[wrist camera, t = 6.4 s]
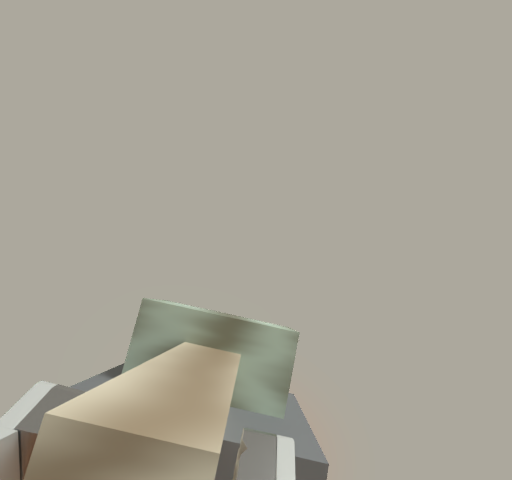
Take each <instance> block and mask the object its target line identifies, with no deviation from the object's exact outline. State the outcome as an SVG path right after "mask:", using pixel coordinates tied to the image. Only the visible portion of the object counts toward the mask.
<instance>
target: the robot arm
mask: <svg viewBox="0 0 512 480" xmlns="http://www.w3.org/2000/svg"><path fill="white" fill-rule="evenodd" d="M83 393H85V391H82V390H78V389H74V388H70V387H66V386H62V385H59V384H54V383H50V382H45V381H40V382H38V383H36V384H35V385H34V386H33V387H32V388H31V389H30V390H29V391H28V392H27V393H26V394H25V395H24V396H23V397H22V398H21V399H19V400H18V402H16V404H14V405H13V406H12V407H11V408H10V409H9V410H8V411H7V412H6V413H5V414H4V415H3V416H2V417H1V418H0V480H23V479H24V476H25V473H26V470H27V467H28V464H29V461H30V457H31V454H32V451H33V448H34V445H35V442H36V439H37V436H38V432H39V429H40V426H41V423H42V420H43V417H44V414H45V413H46V412H48V411H50V410H52V409H54V408H56V407H58V406H60V405H62V404H64V403H65V402H67V401H69V400H71V399H73V398H75V397H77V396H79V395H81V394H83ZM232 480H295V444H294V440H293V438H289V437H285V436H280V435H276V434H272V433H267V432H263V431H258V430H254V429H249V428H244V429H243V432H242V436H241V442H240V448H239V449H238V453H237V458H236V463H235V467H234V473H233V479H232Z"/></svg>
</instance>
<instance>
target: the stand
mask: <svg viewBox="0 0 512 480" xmlns="http://www.w3.org/2000/svg"><path fill="white" fill-rule="evenodd" d="M123 367H124V364H122V365H119V366H117V367H115V368H112V369H110V370H108V371H105V372H103V373H101V374H98V375H96V376H94V377H91V378H89V379H87V380H85V381H82V382H80V383H77V384H75V385H73V386H71V387H70V388H74V389H78V390H82V391H85V392H87V391H89V390H91V389H93V388H95V387H97V386H99V385H101V384H103V383H105V382H107V381H109V380H111V379H113V378H115V377H117V376H119V375H121V374H122V370H123ZM244 428H249V429H254V430H258V431H263V432H267V433H272V434H276V435H280V436H285V437H289V438H293V440H294V444H295V480H326V479H327V473H328V466H329V464H328V462H327V460H326V458H325V456H324V454H323V452H322V450H321V448H320V446H319V444H318V442H317V440H316V438H315V436H314V434H313V432H312V430H311V428H310V426H309V424H308V422H307V420H306V418H305V416H304V414H303V412H302V410H301V408H300V406H299V404H298V402H297V400H296V398H295V396H294V394H290V393H288V399H287V404H286V410H285V415H284V419H282V418H277V417H273V416H269V415H264V414H260V413H255V412H251V411H247V410H242V409H238V408H234V407H230V409H229V414H228V418H227V423H226V428H225V433H224V437H223V442H222V447H221V452H220V456H219V461H218V466H217V470H216V475H215V480H232V479H233V473H234V467H235V463H236V458H237V453H238V449H239V448H240V442H241V436H242V432H243V429H244Z"/></svg>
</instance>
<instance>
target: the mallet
mask: <svg viewBox="0 0 512 480" xmlns="http://www.w3.org/2000/svg"><path fill="white" fill-rule="evenodd" d="M298 337H299V332H297V331H295V330H293V329H291V328H289V327H284V326H280V325H275V324H271V323H267V322H262V321H257V320H253V319H248V318H244V317H239V316H235V315H230V314H226V313H221V312H217V311H212V310H208V309H203V308H198V307H194V306H189V305H185V304H180V303H176V302H171V301H166V300H155V299H146V298H143V299H142V303H141V307H140V310H139V314H138V317H137V321H136V324H135V328H134V332H133V335H132V338H131V342H130V345H129V349H128V353H127V356H126V360H125V363H124V367H123V370H122V374H121V375H119V376H117V377H115V378H113V379H111V380H109V381H107V382H105V383H103V384H101V385H99V386H97V387H95V388H93V389H91V390H89V391H87V392H85V393H83V394H81V395H79V396H77V397H75V398H73V399H71V400H69V401H67V402H65V403H64V404H62V405H60V406H58V407H56V408H54V409H52V410H50V411H48V412H46V413H45V414H44V417H43V420H42V423H41V426H40V429H39V432H38V436H37V439H36V442H35V445H34V448H33V451H32V454H31V457H30V461H29V464H28V467H27V470H26V473H25V476H24V479H23V480H215V475H216V470H217V466H218V461H219V456H220V452H221V447H222V442H223V437H224V433H225V428H226V423H227V418H228V414H229V409H230V407H234V408H238V409H242V410H247V411H251V412H255V413H260V414H264V415H269V416H273V417H277V418H282V419H284V415H285V410H286V404H287V399H288V392H289V387H290V382H291V376H292V370H293V365H294V360H295V354H296V349H297V343H298Z"/></svg>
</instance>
